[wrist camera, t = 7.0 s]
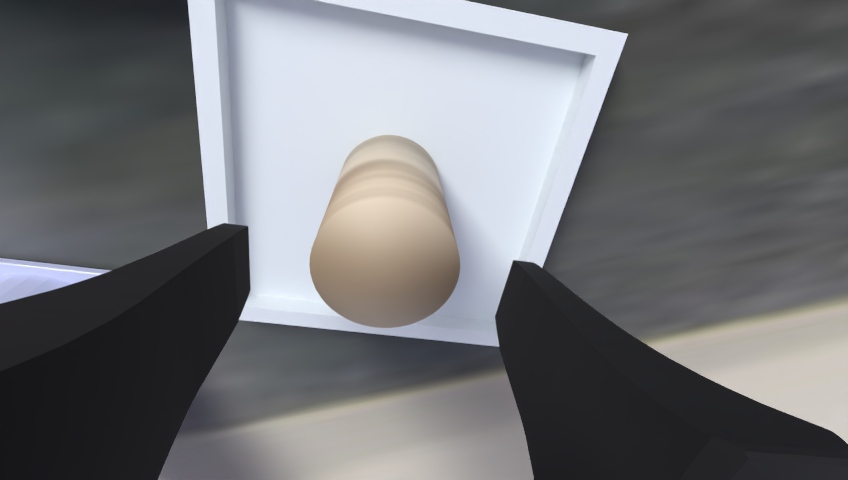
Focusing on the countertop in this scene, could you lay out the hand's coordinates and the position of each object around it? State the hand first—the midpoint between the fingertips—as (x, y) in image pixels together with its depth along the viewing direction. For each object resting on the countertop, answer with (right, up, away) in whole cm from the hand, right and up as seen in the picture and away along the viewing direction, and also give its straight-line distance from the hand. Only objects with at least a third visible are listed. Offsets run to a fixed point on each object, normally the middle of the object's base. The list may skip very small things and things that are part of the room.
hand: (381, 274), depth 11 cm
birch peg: (0, +3, +5) cm, 6 cm away
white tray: (0, +3, +6) cm, 7 cm away
